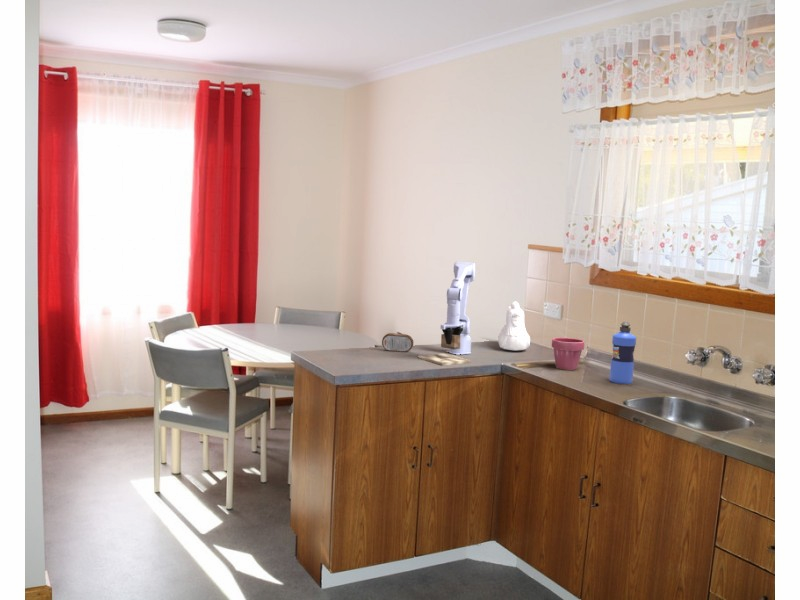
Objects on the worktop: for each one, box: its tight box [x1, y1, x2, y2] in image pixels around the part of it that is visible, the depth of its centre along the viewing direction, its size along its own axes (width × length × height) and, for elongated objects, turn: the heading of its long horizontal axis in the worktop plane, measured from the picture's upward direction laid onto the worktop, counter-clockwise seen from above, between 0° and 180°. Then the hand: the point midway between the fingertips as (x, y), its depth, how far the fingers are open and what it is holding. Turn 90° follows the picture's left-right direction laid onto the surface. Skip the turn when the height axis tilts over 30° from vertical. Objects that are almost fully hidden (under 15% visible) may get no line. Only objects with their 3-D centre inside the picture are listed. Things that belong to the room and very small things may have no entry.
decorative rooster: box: [497, 300, 531, 352], centre depth 360 cm, size 25×16×25 cm, turn 167°
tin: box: [381, 332, 414, 353], centre depth 341 cm, size 15×3×8 cm, turn 84°
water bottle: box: [609, 321, 637, 385], centre depth 295 cm, size 9×9×25 cm
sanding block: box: [440, 333, 460, 350], centre depth 326 cm, size 4×8×6 cm, turn 45°
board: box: [417, 352, 471, 366], centre depth 324 cm, size 16×18×1 cm
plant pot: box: [551, 337, 585, 371], centre depth 319 cm, size 14×14×13 cm
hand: (451, 343), depth 326 cm, fingers closed on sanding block, 4 cm apart
